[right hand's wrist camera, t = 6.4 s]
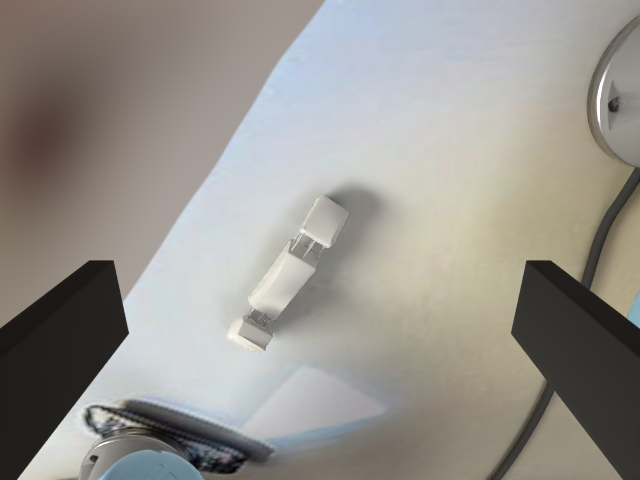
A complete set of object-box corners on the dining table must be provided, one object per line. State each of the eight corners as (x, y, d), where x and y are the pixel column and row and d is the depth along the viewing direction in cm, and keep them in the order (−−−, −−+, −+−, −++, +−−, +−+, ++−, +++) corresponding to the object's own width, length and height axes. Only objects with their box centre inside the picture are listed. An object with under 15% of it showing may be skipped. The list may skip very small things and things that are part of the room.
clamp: (253, 343, 47) (247, 379, 41) (226, 329, 46) (215, 363, 40) (347, 206, 43) (357, 222, 37) (319, 188, 42) (324, 200, 36)
